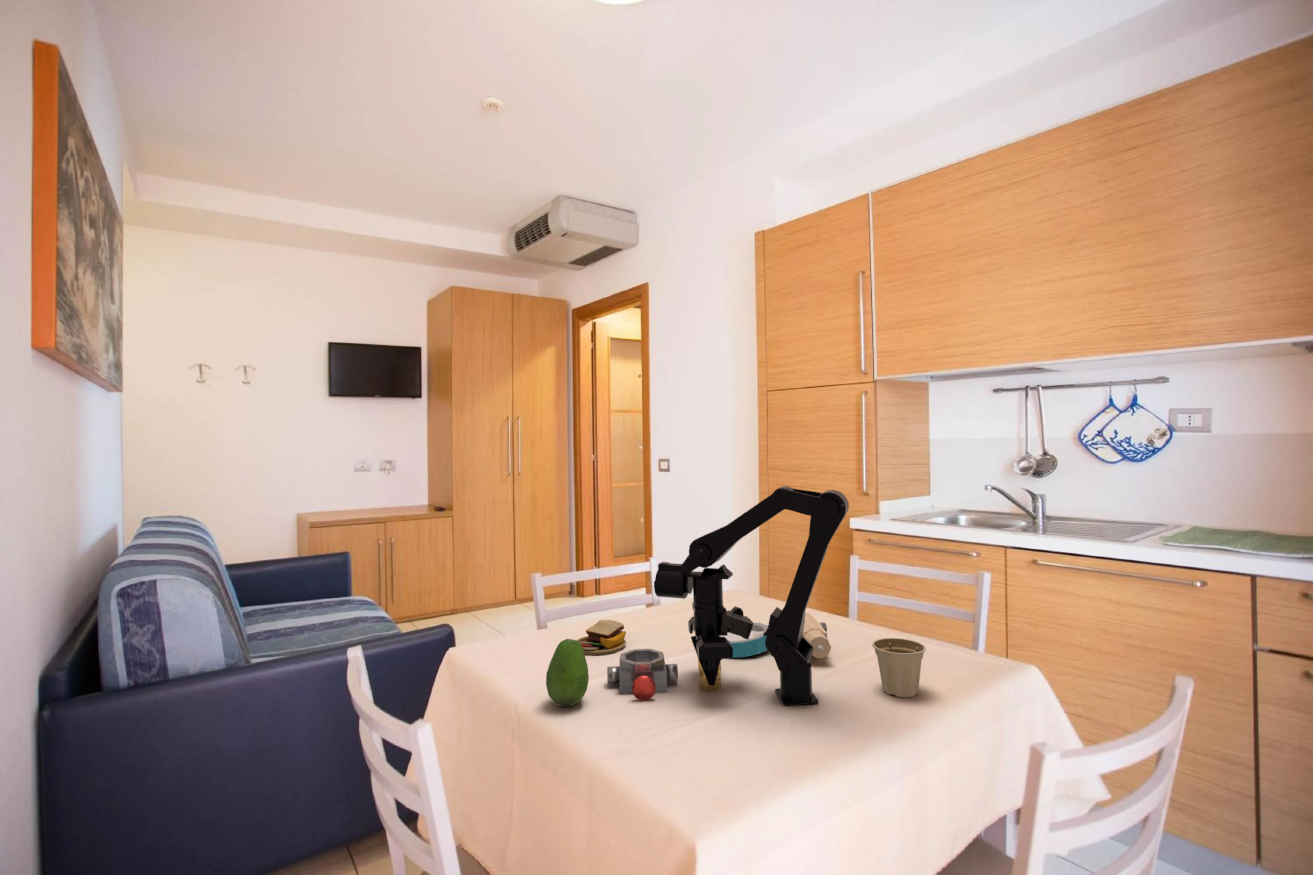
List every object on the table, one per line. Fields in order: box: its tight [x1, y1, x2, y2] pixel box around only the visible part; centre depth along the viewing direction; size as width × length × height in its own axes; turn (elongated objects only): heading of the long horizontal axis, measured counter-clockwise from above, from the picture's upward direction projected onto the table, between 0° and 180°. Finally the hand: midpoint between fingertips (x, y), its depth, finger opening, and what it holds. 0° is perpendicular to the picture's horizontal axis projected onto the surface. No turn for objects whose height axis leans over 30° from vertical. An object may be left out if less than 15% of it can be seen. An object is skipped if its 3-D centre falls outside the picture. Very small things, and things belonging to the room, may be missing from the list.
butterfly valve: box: [719, 611, 832, 659], centre depth 142 cm, size 27×7×30 cm
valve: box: [606, 648, 679, 702], centre depth 121 cm, size 13×14×6 cm
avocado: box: [545, 638, 590, 707], centre depth 114 cm, size 8×8×12 cm
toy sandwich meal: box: [575, 619, 627, 656], centre depth 146 cm, size 12×14×5 cm
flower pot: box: [871, 637, 927, 698], centre depth 116 cm, size 9×9×9 cm
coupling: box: [697, 658, 722, 693], centre depth 120 cm, size 4×4×6 cm
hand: (709, 680), depth 120 cm, fingers closed on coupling, 4 cm apart
